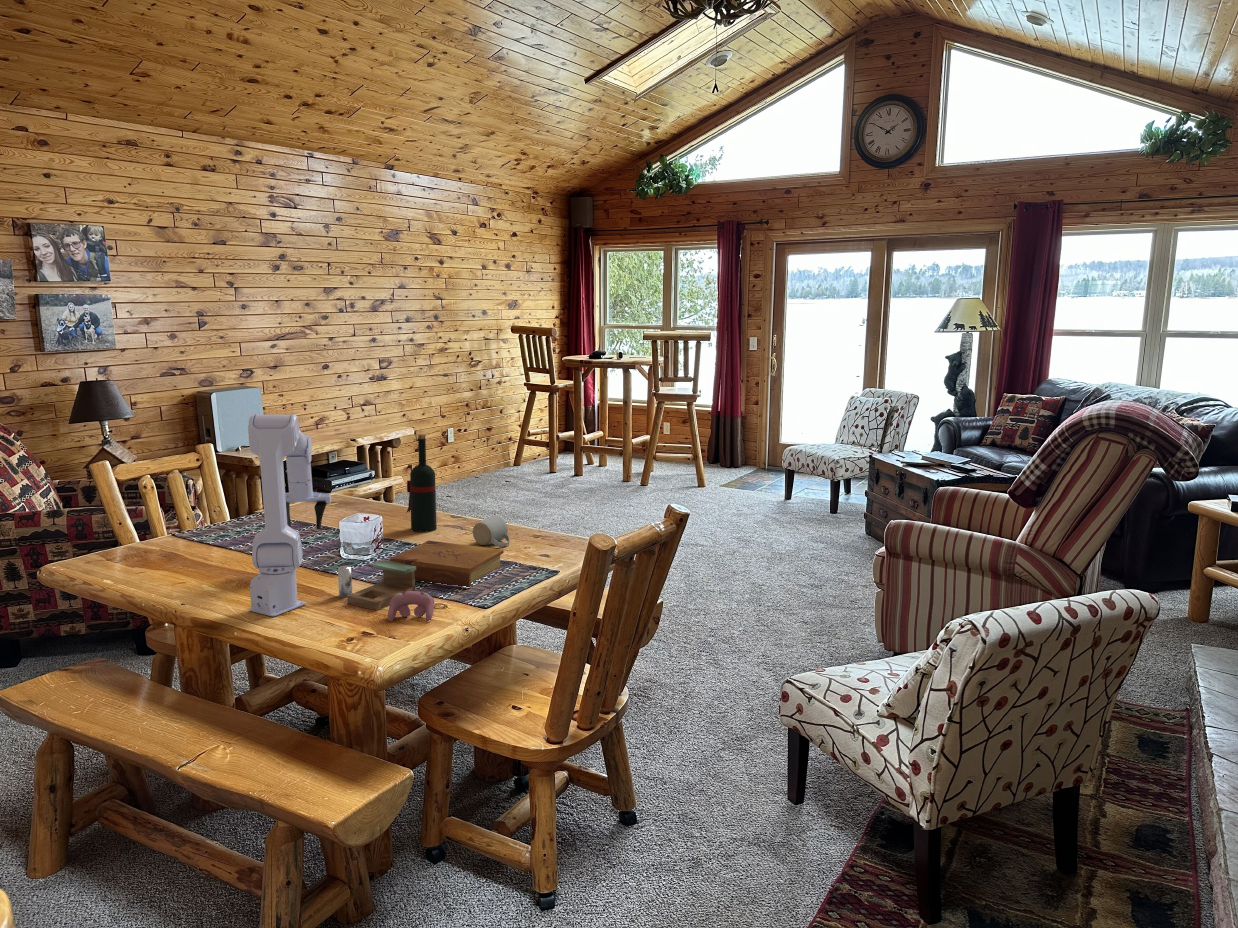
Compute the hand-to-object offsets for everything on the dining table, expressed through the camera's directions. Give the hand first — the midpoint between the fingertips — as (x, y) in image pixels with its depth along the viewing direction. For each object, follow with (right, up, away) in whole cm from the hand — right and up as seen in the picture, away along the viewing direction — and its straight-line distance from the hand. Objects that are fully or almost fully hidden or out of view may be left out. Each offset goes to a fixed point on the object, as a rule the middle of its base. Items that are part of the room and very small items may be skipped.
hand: (303, 527), depth 214 cm
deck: (+27, -15, -21) cm, 37 cm away
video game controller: (+37, -18, -33) cm, 52 cm away
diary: (+38, -12, -1) cm, 40 cm away
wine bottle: (+21, -4, +42) cm, 47 cm away
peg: (+18, -15, -20) cm, 30 cm away
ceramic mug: (+46, -7, +27) cm, 54 cm away
